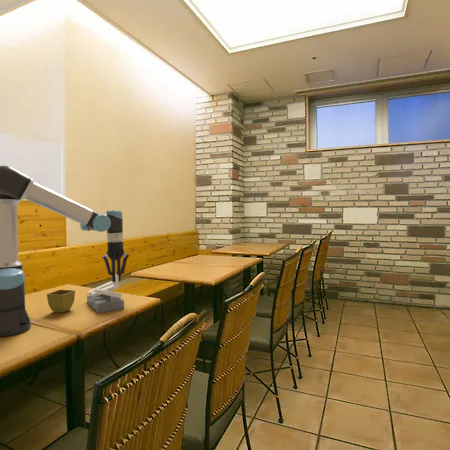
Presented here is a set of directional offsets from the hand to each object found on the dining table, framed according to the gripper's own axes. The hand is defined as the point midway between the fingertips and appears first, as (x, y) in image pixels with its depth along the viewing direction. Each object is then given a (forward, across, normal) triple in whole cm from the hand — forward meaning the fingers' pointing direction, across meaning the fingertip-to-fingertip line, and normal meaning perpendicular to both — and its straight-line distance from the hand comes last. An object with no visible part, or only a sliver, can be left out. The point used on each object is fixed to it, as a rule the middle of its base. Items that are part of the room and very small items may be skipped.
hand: (116, 288), depth 166 cm
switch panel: (+8, -6, 0) cm, 10 cm away
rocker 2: (0, -6, 0) cm, 6 cm away
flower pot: (+8, -25, +2) cm, 26 cm away
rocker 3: (0, -6, -6) cm, 9 cm away
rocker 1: (0, -6, +6) cm, 9 cm away
